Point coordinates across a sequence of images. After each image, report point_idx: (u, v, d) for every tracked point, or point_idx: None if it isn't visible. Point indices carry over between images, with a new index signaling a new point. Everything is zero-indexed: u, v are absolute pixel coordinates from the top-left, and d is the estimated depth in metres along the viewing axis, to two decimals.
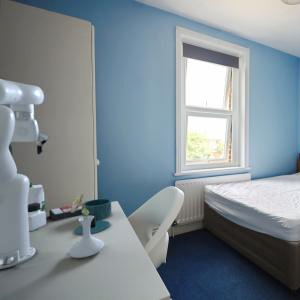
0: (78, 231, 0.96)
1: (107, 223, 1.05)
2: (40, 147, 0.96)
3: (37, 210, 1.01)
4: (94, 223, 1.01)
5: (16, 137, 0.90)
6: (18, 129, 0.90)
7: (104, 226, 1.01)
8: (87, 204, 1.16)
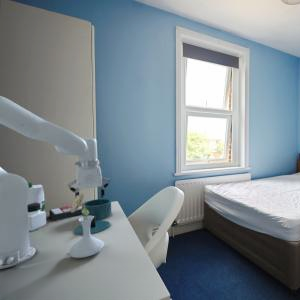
0: (78, 231, 0.96)
1: (107, 223, 1.05)
2: (103, 191, 1.03)
3: (37, 210, 1.01)
4: (94, 223, 1.01)
5: (85, 184, 0.96)
6: (86, 177, 0.97)
7: (104, 226, 1.01)
8: (87, 204, 1.16)
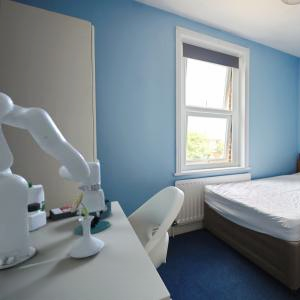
0: (78, 231, 0.96)
1: (107, 223, 1.05)
2: (98, 218, 1.01)
3: (37, 210, 1.01)
4: (94, 223, 1.01)
5: (87, 209, 0.97)
6: (89, 201, 0.97)
7: (104, 226, 1.01)
8: None
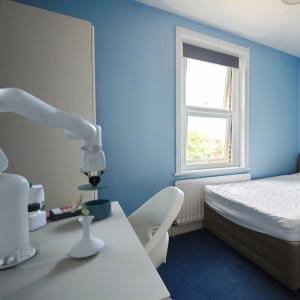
0: (81, 188, 1.03)
1: (108, 184, 1.12)
2: (99, 177, 1.09)
3: (37, 210, 1.01)
4: (96, 182, 1.08)
5: (89, 167, 1.04)
6: (91, 160, 1.05)
7: (105, 185, 1.08)
8: (87, 204, 1.16)
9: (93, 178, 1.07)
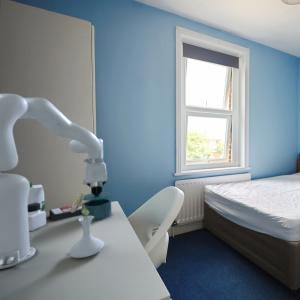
0: (84, 198, 1.10)
1: (109, 193, 1.19)
2: (101, 188, 1.15)
3: (37, 210, 1.01)
4: (98, 192, 1.14)
5: (92, 179, 1.11)
6: (93, 172, 1.11)
7: (107, 195, 1.15)
8: (87, 204, 1.16)
9: (95, 188, 1.14)
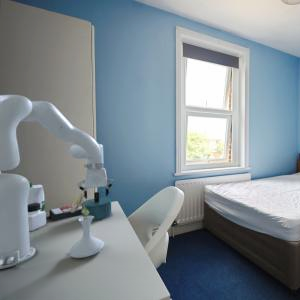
0: (84, 204, 1.10)
1: (109, 199, 1.19)
2: (108, 190, 1.17)
3: (37, 210, 1.01)
4: (98, 198, 1.15)
5: (92, 184, 1.11)
6: (93, 177, 1.11)
7: (107, 201, 1.15)
8: None
9: (95, 194, 1.14)
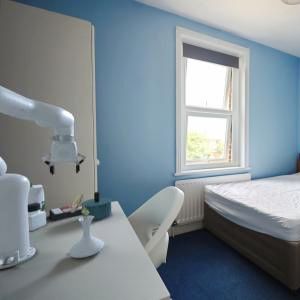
0: (84, 204, 1.10)
1: (109, 199, 1.19)
2: (78, 166, 1.05)
3: (37, 210, 1.01)
4: (98, 198, 1.15)
5: (59, 158, 0.99)
6: (61, 151, 1.00)
7: (107, 201, 1.15)
8: None
9: (95, 194, 1.14)
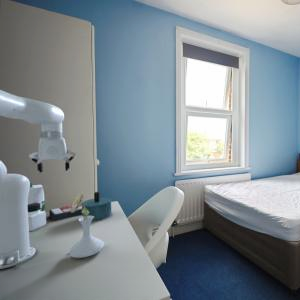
0: (84, 204, 1.10)
1: (109, 199, 1.19)
2: (68, 164, 1.02)
3: (37, 210, 1.01)
4: (98, 198, 1.15)
5: (47, 155, 0.96)
6: (49, 148, 0.96)
7: (107, 201, 1.15)
8: None
9: (95, 194, 1.14)
